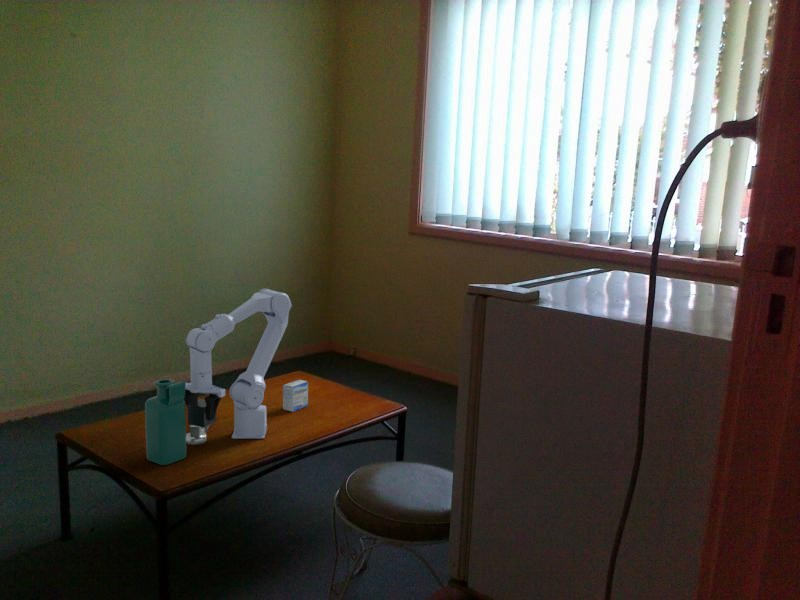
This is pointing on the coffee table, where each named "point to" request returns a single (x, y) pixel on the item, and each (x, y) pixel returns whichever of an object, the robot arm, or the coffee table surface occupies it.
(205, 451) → the coffee table surface
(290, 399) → the medicine box
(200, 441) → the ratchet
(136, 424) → the coffee table surface
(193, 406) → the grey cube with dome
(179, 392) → the teal green bottle
